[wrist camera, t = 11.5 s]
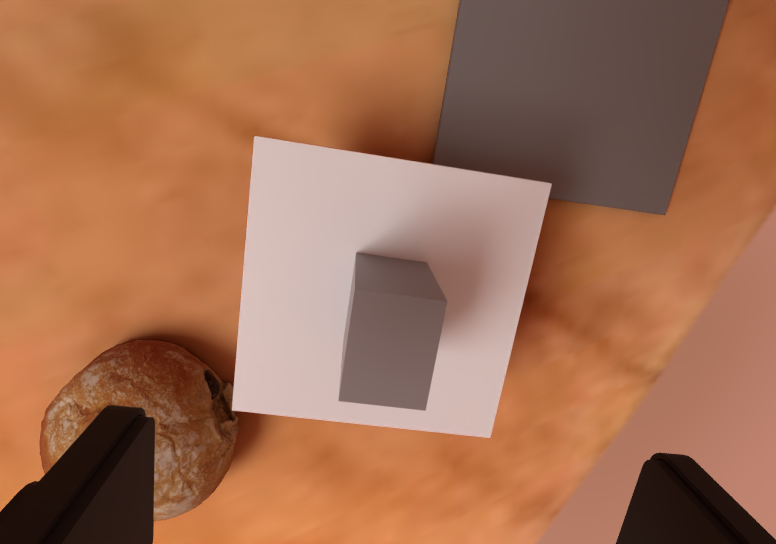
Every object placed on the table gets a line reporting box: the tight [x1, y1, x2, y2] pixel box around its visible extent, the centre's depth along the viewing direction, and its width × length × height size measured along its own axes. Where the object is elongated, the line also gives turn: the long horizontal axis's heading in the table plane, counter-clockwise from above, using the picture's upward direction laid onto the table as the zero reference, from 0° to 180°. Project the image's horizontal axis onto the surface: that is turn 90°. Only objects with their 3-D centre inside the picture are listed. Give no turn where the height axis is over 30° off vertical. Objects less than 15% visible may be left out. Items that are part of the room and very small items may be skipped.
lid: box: [232, 136, 552, 438], centre depth 19 cm, size 12×12×6 cm
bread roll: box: [40, 340, 238, 521], centre depth 27 cm, size 10×10×8 cm
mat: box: [432, 0, 729, 215], centre depth 24 cm, size 13×13×1 cm
